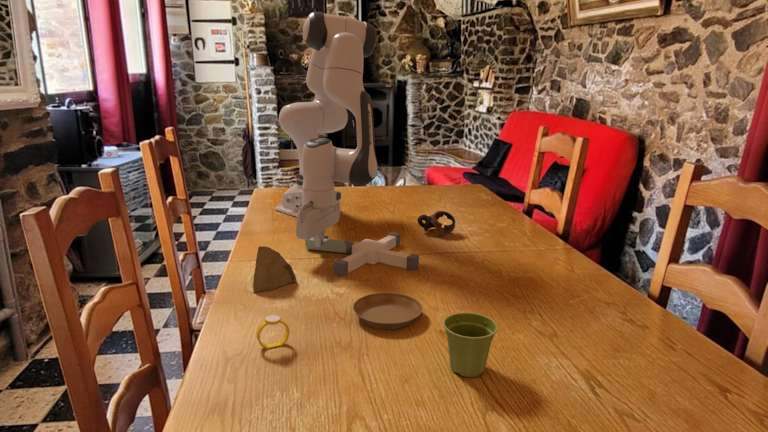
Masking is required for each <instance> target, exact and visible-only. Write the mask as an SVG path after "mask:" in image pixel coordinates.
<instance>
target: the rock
mask: <svg viewBox="0 0 768 432" xmlns="http://www.w3.org/2000/svg"><path fill="white" fill-rule="evenodd" d="M297 281H298V280H297V276H296V274H295V271H294V270H293V268H292V265H291V264H290V263H288V262H287V261H286V259H285V258H284V257H283V256H282V254H281V253H280V252H279V251H276V250H274V249H272V248H271V247H269V246H263V245H262V246H258V249H257V252H256V258H255V266H254V275H253V283H252V289H253V290H252V291H253V294H256V293H261V292H267V291H272V290H275V289H278V288H281V287H284V286H286V285H289V284H291V283H295V282H297Z"/></svg>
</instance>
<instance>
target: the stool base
mask: <svg viewBox="0 0 768 432" xmlns="http://www.w3.org/2000/svg"><path fill="white" fill-rule="evenodd" d="M401 236H402V235H401V233H400V232H394V231H391V232H389V233H388V234H387V236H385V237H383V238H381V239H379V240H374V239H368V238H365V239H362V240H360V241H359V242H357V243H353V245H352V249H351V254H350V255H348V256H346V257H344V258H342V259H339V258H338V259H336V260H334V261H333V274H334V275H337V276H342V277H346V276H347V275H348V274H349V273H351V272H353V271H354V270H356V269H358V268H359V267H362V266H363V265H365V264H368V265H369V264H370V265H375V264H376V263H381V264H385V265H390V266H394V267H398V268H402V269H405V270H409V271H413V272H414V271H415V270H417V269H419V267H420V265H419V264H420V261H419V260H420V255H419V254H415V253H411V254H406V253H401V252H398V251H393V250H392V249H394V248H395V247H398V246H401Z"/></svg>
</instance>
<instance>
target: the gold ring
mask: <svg viewBox="0 0 768 432" xmlns="http://www.w3.org/2000/svg"><path fill="white" fill-rule="evenodd" d="M278 324H283V326H284V327H285V334H284V335H283V337H282V338H281V339H280V341H277V342H272V343H267V344H266V343H264V342H262V340H261V333H262V331H263V329H264V328H265V327H267V326H268V325H271V326H274V325H278ZM290 334H291V333H290V327H289V325H288V324H287V322H286V321H285V320H284V319H282V318H281V317H280V316H279V315H276V314H271V315H268V316H265V318H264V320H263V321H262V322H261V323H260V324H259V326H258V327H257V329H256V336H255V337H256V340H257V341H258V344H259V345H260V346H261V348H264V349H265V350H269V349H272V348H273V349H274V348H279V347H283V346H284V345H285V344H286V343H287V341H288V339H289V337H290Z"/></svg>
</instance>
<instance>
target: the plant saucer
mask: <svg viewBox="0 0 768 432" xmlns="http://www.w3.org/2000/svg"><path fill="white" fill-rule="evenodd" d="M352 311H353V312H354V314H355V315H356V316H357V317H358V318H359V319H360V320H361V321H362V322H364V323H365V324H366V325H367V326H370V327H373V328H376V329H381V330H397V329H400V328H401V329H402V328H404V327H406V326H409V325H410V324H411V323H413V322H414V321H415V320H417V318H418V317H419V316H420V315H421V314H422V312H423V305H422V304H421V302H420V301H419V300H417V299H416V298H414V297H412V296H410V295H407V294H402V293H399V292H398V293H396V292H377V293H376V292H375V293H369V294H366V295H363V296H361V297H359V298H358V299H357V300H355V301H354V303H353V305H352Z"/></svg>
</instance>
